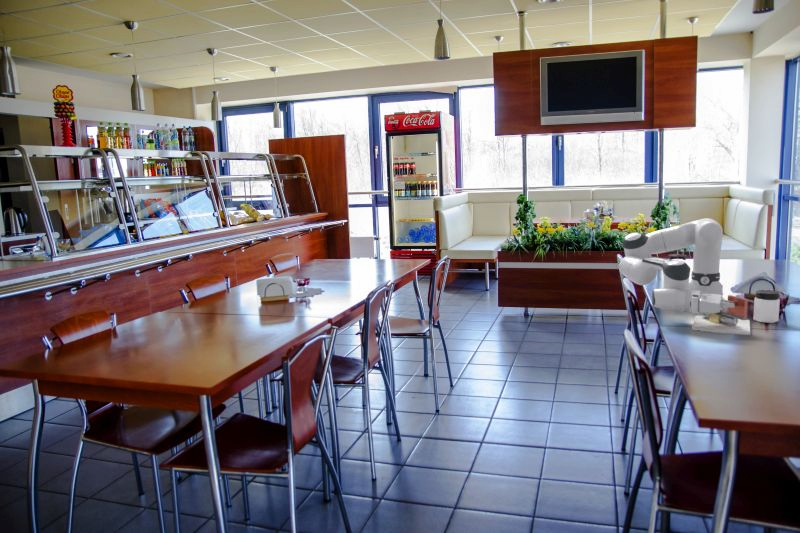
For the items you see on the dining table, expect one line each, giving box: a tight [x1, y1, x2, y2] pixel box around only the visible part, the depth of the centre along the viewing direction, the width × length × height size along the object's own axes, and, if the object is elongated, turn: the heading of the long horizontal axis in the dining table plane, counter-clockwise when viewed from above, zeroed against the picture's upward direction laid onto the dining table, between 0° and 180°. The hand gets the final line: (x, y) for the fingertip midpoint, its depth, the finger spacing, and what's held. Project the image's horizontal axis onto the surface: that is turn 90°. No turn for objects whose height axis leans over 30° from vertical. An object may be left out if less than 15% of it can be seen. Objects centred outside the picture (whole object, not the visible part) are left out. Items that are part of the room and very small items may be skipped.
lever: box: [718, 294, 749, 320], centre depth 247 cm, size 16×4×8 cm, turn 12°
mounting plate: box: [691, 315, 751, 336], centre depth 251 cm, size 22×20×1 cm
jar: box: [752, 289, 781, 324], centre depth 257 cm, size 9×8×12 cm
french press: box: [667, 250, 688, 261], centre depth 332 cm, size 12×9×23 cm
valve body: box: [700, 313, 738, 326], centre depth 254 cm, size 16×5×4 cm, turn 17°
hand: (734, 304), depth 242 cm, fingers closed
